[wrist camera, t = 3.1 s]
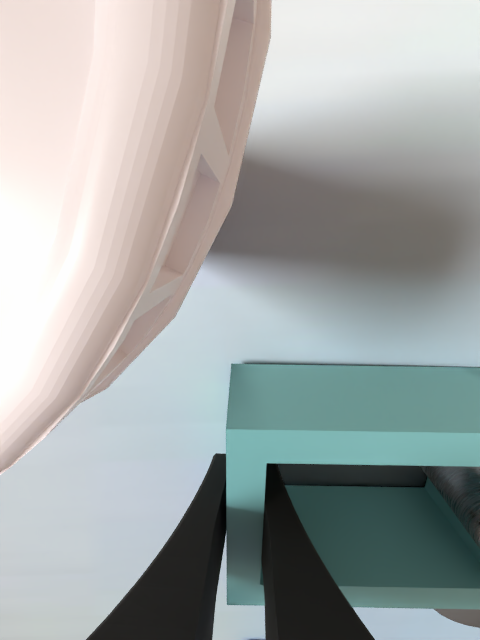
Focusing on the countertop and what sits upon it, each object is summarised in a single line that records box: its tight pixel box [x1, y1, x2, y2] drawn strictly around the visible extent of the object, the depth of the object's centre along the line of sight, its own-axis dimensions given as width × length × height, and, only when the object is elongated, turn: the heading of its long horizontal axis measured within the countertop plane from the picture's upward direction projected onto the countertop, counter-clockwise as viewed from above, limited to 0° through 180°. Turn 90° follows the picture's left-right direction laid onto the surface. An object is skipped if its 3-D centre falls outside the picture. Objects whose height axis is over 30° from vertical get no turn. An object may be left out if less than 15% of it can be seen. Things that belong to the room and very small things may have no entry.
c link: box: [226, 364, 480, 609], centre depth 10 cm, size 8×11×4 cm
